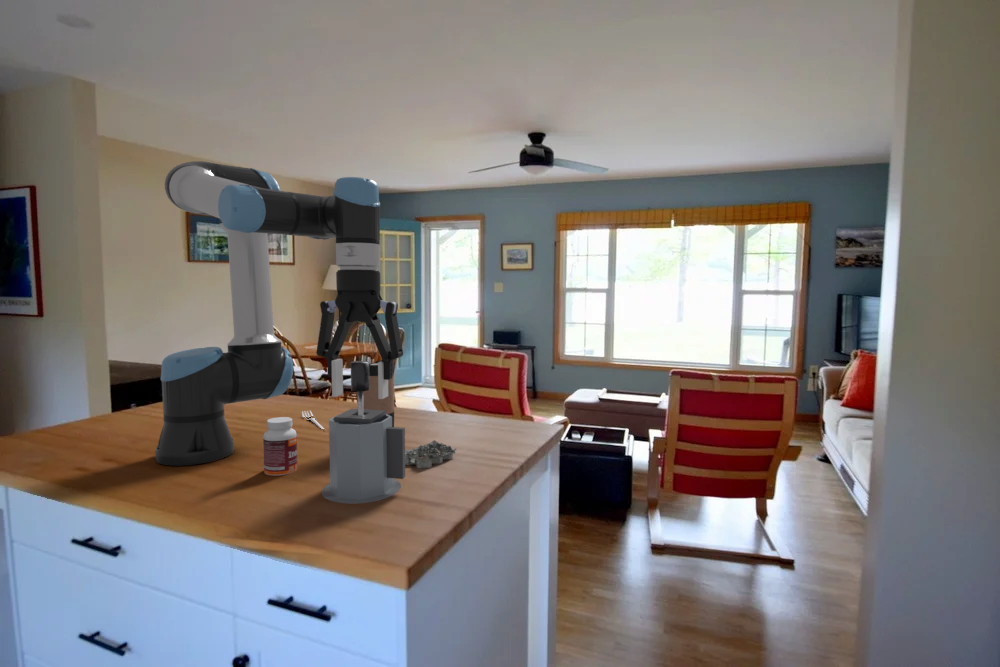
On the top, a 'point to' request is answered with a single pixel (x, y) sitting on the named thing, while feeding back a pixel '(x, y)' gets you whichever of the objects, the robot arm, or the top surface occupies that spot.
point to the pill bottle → (280, 447)
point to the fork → (311, 418)
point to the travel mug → (372, 395)
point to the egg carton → (428, 454)
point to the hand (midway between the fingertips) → (360, 396)
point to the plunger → (360, 382)
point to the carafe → (365, 454)
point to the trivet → (332, 497)
